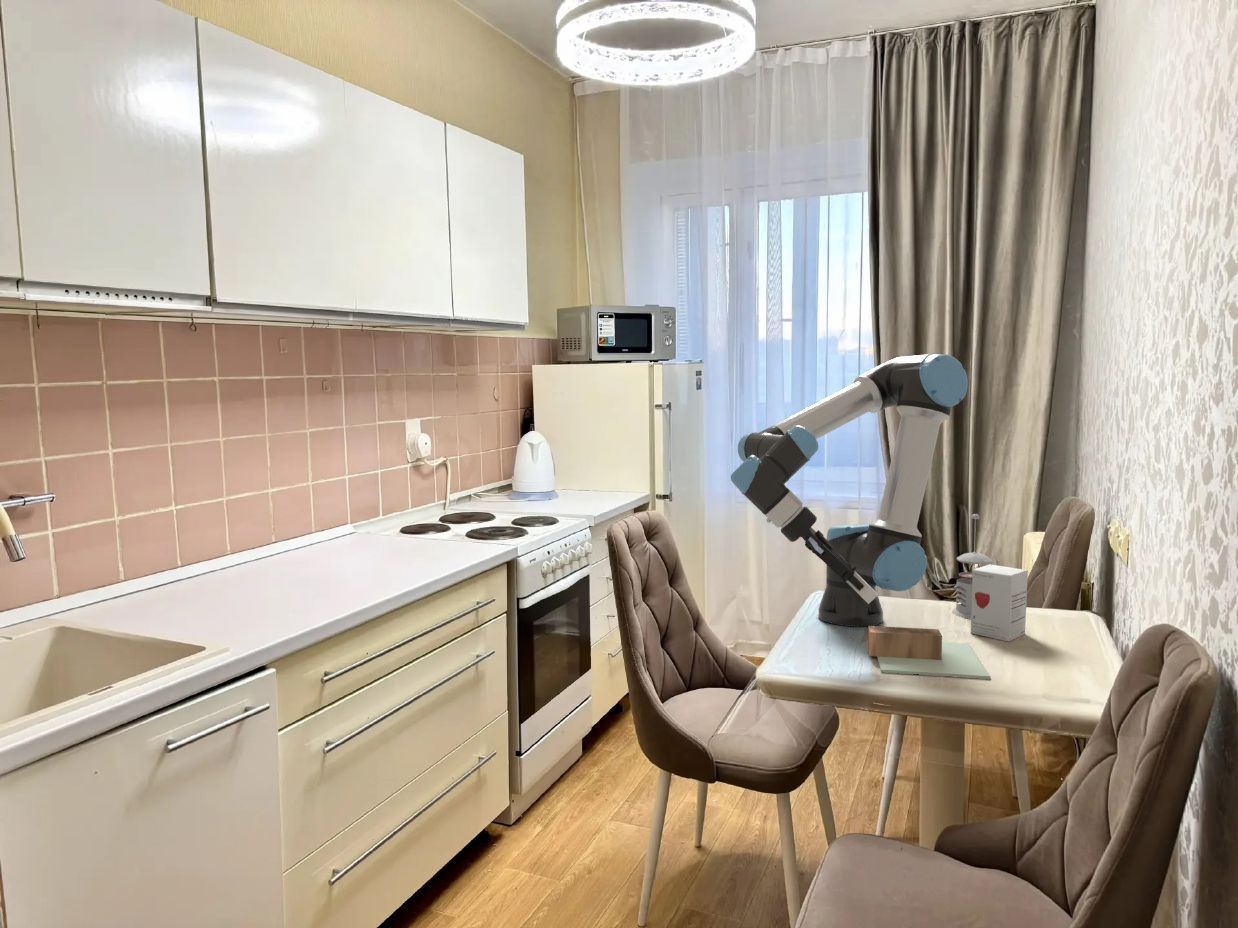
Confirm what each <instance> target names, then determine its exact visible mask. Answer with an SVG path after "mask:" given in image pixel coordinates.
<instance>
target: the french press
mask: <svg viewBox="0 0 1238 928" xmlns="http://www.w3.org/2000/svg"><path fill="white" fill-rule="evenodd" d="M970 517H971V519H972V520H974V535H973V536H974V539H973V544H974V545H973V552H965V553H963V554H961V555H959V556H957V557H956V560H957V562H960V563H963V564H970V565H973V569H976V568H977V567H975V566H976V565H988V564H990V563H992V562H993V559H991V558H990V557H989V556H987V555H985V554H983V553H979V552H976V529H977V528H976V527H977V520H980V518H981V517H980V515H979V514H978V513H973V514H971V516H970ZM958 577H959V578H958V579H956V600H955V601H956V605H955V608H954V609H952V611H951V613H952V614H953V615H955V616H958V617H961V616H962V617H961V618H965V617H966V618H967V619H971V607H972V577H973V571H971V572H970V571H965V572H964V571H963V572H959V573H958Z"/></svg>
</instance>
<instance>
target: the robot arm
mask: <svg viewBox="0 0 1238 928" xmlns="http://www.w3.org/2000/svg"><path fill="white" fill-rule="evenodd" d="M968 381H969V379H968V375H967V371H966V369H964V368H963V364H962V363H961V362H960V361H959V360H958V359H957V358H956V357H954V356H952V355H949V354H944V353H940V354H938V353H935V352H934V353H929V354H919V355H903V356H898V357H895V358H893V359H890V360H887V361H885V362H884V363H881V364H879V365H877V366H875V367H874V368H872V369H870V370H868V371H866V372H865V373H862V374H861V375H859V376H856V378H855V379H854V380H853V383H852V384H850V385H848V386H847V387H845V388H843V389H840V390H839V391H837V392H835V393H833V394H832V395H829V396H827V397H825V398H824V399H821V400H820V401H818V402H816V403H814V404H812V405H810V406H808V407H806V408H805V409H803V410H800V411H799V412H796V413H794V414H793V415H790V416H788V417H787V418H785V419H783V420H781V421H780V422H777V423H775V424H774V425H772V426H769V427H767V428H765V429H763V430H762V431H760V432H756V431H755V432H749V433H747V434H744V435H743V436H742V437H741V438H740V439H739V441H738V444H737V454H738V456H739V458H740V460H741V461H742V462H743V463H741V464H740V465H739V466H738V467H737V468H736V469H735V470H734V471H733V472H732V473H731V475H730V481H731V482H732V484H733V485H734V486H735V487H736V489H738V491H739V492H740V493H741V494H742V495H743V496H744V497H746V498H747V500H748V501H750V502H751V503H752V504H753V505H754V507H756V508H757V509H758V510H759V511H760V512H761V513H762V514H763V515H764V516H765V517H766V520H765V521H766V522H767V523H768V524H770V523H772V524H773V525H774V526H775V528H778V529H779V528H780V532H781V534H782V535H784V537H785V538H786V539H787V540H788V541H789V542H791V543H794V542H796V541H797V540H799V539H800V538H801V539H803V540H804V543H805V544H804V546H805V547H806V548H807V550H809V551H811V552H812V553H813V554H814V555H816V556H817V558H819V559H820V560H821V561H822V562H823V563H825V564H826V566H825V567H826V570H825V571H826V572H825V573H826V575H825V576H826V581H825V582H826V585H825V588H824V592H823V595H822V597H821V600H820V603H819V606H818V618H819V620H821V621H823V622H826V623H829V624H832V625H837V626H845V627H868V626H877V625H879V624H881V623H883V621H884V612H883V607H882V604H881V601H880V597H879V593H878V592H877V587H878V588H880V589H882V590H887V591H893V592H904V591H908V590H910V589H911V588H913V587H914V586H916V585H918V584H919V582H920V581H921V580H922V579H923V576H924V575H925V573H926V570H927V566H928V557H927V555H926V552H925V550H924V548H923V547H922V546H921V542H922V538H923V537H922V536H923V535H922V533H921V532H920V531H919V529H918V522H919V518H920V514H921V510H922V507H923V506H922V505H923V500H924V496H925V492H926V488H927V484H928V479H929V475H930V470H931V467H932V462H933V457H934V452H935V449H936V444H937V441H938V435H939V431H940V426H941V425H942V423H944V422H945V421H947V420H948V419H949V418H950V415H951V410H952V407H955V406H956V405H958V404H959V403H960V402H962V401H963V400H964V398H965V397H966V394H967V393H968V392H967V391H968V385H969V382H968ZM891 407H896V408H895V409H896V411H897V412H898V414H899V415H900V421H899V425H898V429H897V433H896V437H895V442H894V446H893V451H892V455H891V460H890V464H889V469H888V474H887V477H886V481H885V485H884V490H883V495H882V499H881V502H880V507H879V513H878V516H877V518H876V519H875V520H873V521H872V522H870V523H869V524H843V525H833V526H831V527H829V528H828V530H827V533H826V537H824V534H823V533H822V532H821V531H820V530H819V529H818V530H815V529H814V528H812V527H813V526H814V525H815V523H816V522H817V520H818V517H817V516H816V515H815V514H814V513H813V512H812V511H811V510H810V509H809V507H807V506H803V505H804V503H803V501H801V499H799V497H798V496H797V495H796V494H794V492H793V491H791V490H790V489H789V488H788V487H787V486H786V485H785V484H786V483H787V482H788V481H789V480H790V479H791V478H792V477H793V476H794V475H796V473H797V472H799V470H801V468H803V466H805V465H806V464H807V463H808V462H810V461H811V459H812V457H813V456H814V455H815V454H816V453H817V452H818V451H819V442H818V440H817V439H819V438H821V437H823V436H825V435H828V434H829V433H831V432H832V431H833V432H834V431H835V430H836V429H838V428H841V427H842V426H844V425H846V424H848V423H850V422H851V421H854V420H856V419H857V418H860V417H862V416H864V415H865V414H867V413H873V414H874V413H875V414H876V413H878V412H880V411H882V410H884V409H887V408H891Z"/></svg>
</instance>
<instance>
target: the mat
mask: <svg viewBox="0 0 1238 928" xmlns="http://www.w3.org/2000/svg"><path fill="white" fill-rule="evenodd" d="M876 659H877V661H878V662H877V663H878V665H879V669H880V673H881V672H888V673H887V674H897V673H899V674H901V675H913V674H919V675H918V676H931V677H945V676H953V677H952V678H960V677H963V679H976V678H978V679H980V680H981V679H982V680H991V677H992V676H991V674H989V672H988V670H987V668H986V667H985V665H984V664H983V663H982V660H981V659H980V658H979V656H978V654H977V653H976V652H975V650H974V649H973V647H972V645H971V644H970V643H969V642H952V641H942V660H931V659H914V658H896V657H879V656H876ZM899 674H898V675H899ZM955 676H956V677H955ZM964 677H965V678H964Z"/></svg>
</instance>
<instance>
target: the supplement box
mask: <svg viewBox="0 0 1238 928" xmlns="http://www.w3.org/2000/svg"><path fill="white" fill-rule="evenodd" d="M975 568H976V569H974V568H973V569H972V572H973V577H972V607H971V618H970V634H973V635H977V636H982V637H986V638H990V639H995V640H1000V641H1004V642H1011V641H1013V640H1015V639H1018V638H1020V637H1022V636H1024V635H1025V634H1026V619H1027V598H1028V597H1027V595H1028V578H1029V577H1028V575H1029V570H1028V569H1023V568H1016V567H1010V566H1002V565H996V564H990V563H988V564H985V565H983V566H981V567H980V566H979V567H975Z"/></svg>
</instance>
